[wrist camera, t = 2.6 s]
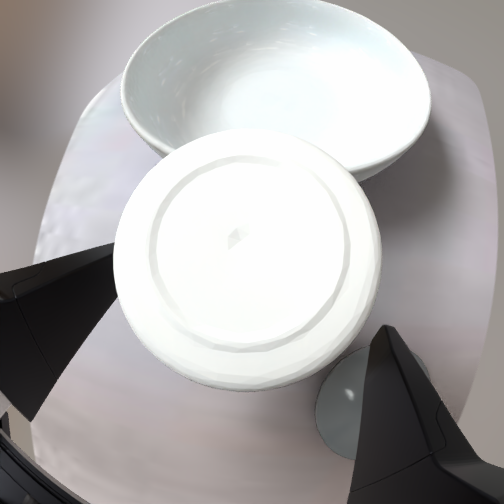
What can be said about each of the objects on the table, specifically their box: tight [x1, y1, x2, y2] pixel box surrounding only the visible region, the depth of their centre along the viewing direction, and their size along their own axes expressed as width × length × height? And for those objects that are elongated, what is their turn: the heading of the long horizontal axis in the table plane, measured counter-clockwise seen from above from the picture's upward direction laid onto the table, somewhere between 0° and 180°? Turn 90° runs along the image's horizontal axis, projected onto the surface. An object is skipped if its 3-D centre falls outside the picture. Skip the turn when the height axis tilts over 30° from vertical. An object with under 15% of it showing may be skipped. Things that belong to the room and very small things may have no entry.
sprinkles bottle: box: [113, 129, 382, 392], centre depth 11 cm, size 5×5×13 cm
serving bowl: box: [120, 0, 432, 183], centre depth 18 cm, size 21×21×7 cm
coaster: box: [315, 346, 430, 460], centre depth 15 cm, size 8×8×1 cm
